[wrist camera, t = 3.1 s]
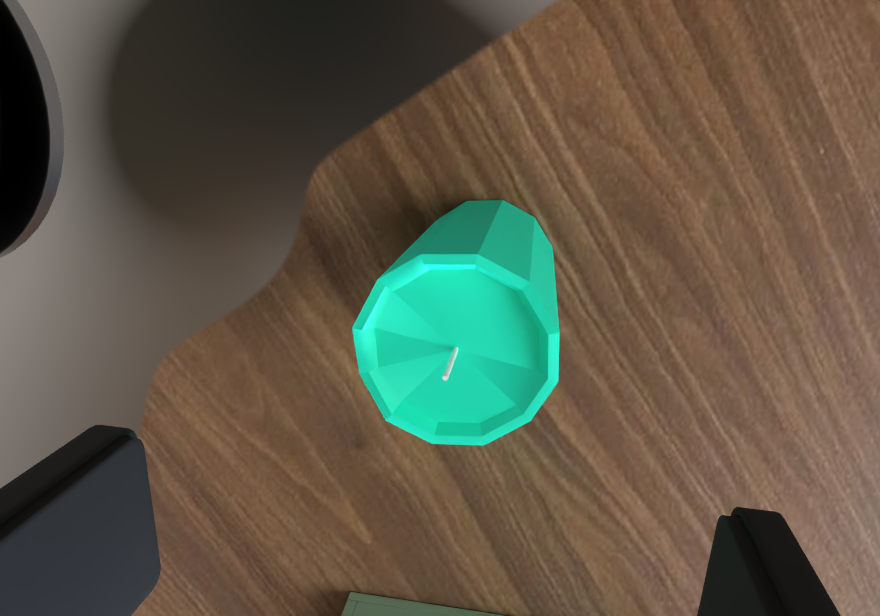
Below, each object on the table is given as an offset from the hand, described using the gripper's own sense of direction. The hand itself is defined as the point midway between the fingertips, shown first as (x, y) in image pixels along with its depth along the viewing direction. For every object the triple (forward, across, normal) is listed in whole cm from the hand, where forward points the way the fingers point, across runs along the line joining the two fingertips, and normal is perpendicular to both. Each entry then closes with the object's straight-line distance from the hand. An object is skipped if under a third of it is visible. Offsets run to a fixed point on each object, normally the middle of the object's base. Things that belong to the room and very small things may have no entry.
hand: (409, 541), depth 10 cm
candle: (+18, +1, 0) cm, 18 cm away
